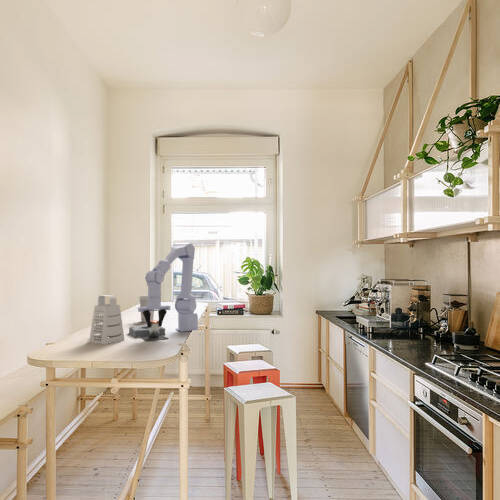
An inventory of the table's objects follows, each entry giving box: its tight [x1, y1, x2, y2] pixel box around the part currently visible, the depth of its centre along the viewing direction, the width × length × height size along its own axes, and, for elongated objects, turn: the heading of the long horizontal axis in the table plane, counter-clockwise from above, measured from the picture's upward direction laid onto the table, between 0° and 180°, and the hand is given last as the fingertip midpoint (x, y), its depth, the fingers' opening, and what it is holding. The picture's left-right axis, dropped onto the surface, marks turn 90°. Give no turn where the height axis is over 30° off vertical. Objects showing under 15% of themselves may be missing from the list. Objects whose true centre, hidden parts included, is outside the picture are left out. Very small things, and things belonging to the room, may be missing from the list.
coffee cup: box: [138, 294, 155, 323], centre depth 240 cm, size 10×10×15 cm
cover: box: [148, 319, 160, 338], centre depth 192 cm, size 5×5×7 cm
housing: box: [128, 325, 166, 338], centre depth 202 cm, size 14×12×3 cm
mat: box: [140, 335, 169, 342], centre depth 191 cm, size 10×10×1 cm
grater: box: [88, 294, 125, 345], centre depth 185 cm, size 10×10×20 cm
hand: (154, 326), depth 191 cm, fingers closed on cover, 5 cm apart
